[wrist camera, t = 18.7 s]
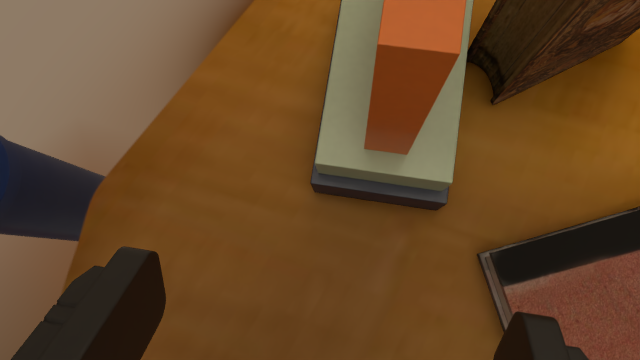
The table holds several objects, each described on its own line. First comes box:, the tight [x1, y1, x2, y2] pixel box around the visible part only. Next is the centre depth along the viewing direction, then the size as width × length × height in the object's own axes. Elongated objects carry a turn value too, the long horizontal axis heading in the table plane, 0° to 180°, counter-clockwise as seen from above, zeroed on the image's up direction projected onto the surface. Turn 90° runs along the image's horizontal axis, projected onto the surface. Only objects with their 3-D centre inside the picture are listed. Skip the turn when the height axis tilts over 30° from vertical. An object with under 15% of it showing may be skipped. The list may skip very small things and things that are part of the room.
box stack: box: [311, 0, 473, 210], centre depth 43 cm, size 12×20×9 cm, turn 171°
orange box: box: [364, 0, 466, 155], centre depth 30 cm, size 4×14×18 cm, turn 171°
